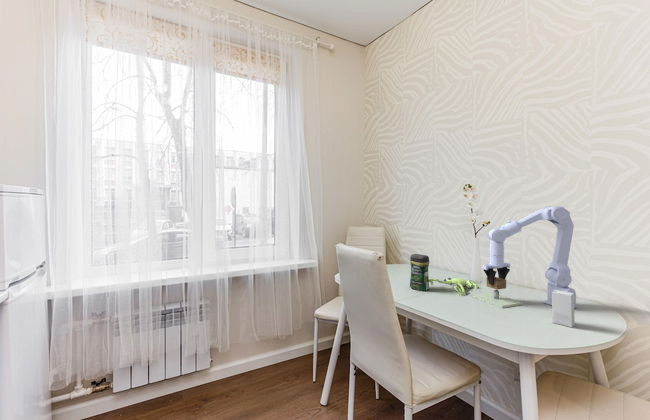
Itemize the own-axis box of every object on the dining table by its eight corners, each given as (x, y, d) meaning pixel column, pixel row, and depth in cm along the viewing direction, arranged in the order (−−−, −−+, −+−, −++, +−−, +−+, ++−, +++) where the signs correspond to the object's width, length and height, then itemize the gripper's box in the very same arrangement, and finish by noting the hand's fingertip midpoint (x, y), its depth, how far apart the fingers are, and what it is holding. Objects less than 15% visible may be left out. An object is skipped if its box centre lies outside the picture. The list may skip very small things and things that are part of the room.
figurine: (424, 289, 155) (424, 279, 155) (448, 280, 173) (448, 271, 173) (458, 298, 141) (458, 286, 141) (481, 287, 159) (481, 277, 159)
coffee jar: (407, 288, 158) (407, 254, 157) (415, 285, 163) (415, 252, 162) (423, 292, 150) (423, 256, 150) (431, 289, 155) (431, 254, 154)
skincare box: (574, 324, 109) (575, 292, 109) (572, 328, 106) (572, 295, 106) (554, 319, 114) (554, 289, 114) (551, 322, 111) (551, 291, 111)
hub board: (522, 304, 131) (522, 293, 131) (501, 308, 127) (501, 296, 127) (491, 294, 146) (491, 284, 146) (472, 296, 142) (472, 286, 142)
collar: (506, 288, 135) (506, 279, 135) (496, 289, 133) (496, 280, 133) (495, 285, 140) (495, 276, 140) (486, 286, 138) (486, 277, 138)
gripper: (500, 252, 142) (500, 280, 142) (477, 254, 138) (477, 283, 138) (514, 255, 135) (514, 284, 136) (490, 257, 131) (490, 287, 131)
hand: (496, 283), depth 136 cm, fingers closed on collar, 6 cm apart
